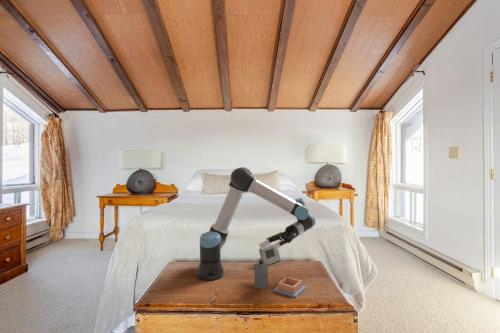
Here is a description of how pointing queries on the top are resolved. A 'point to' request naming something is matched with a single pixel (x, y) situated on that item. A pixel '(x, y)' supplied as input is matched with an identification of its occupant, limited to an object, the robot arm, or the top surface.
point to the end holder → (290, 287)
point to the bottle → (261, 274)
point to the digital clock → (269, 254)
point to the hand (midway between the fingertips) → (267, 246)
